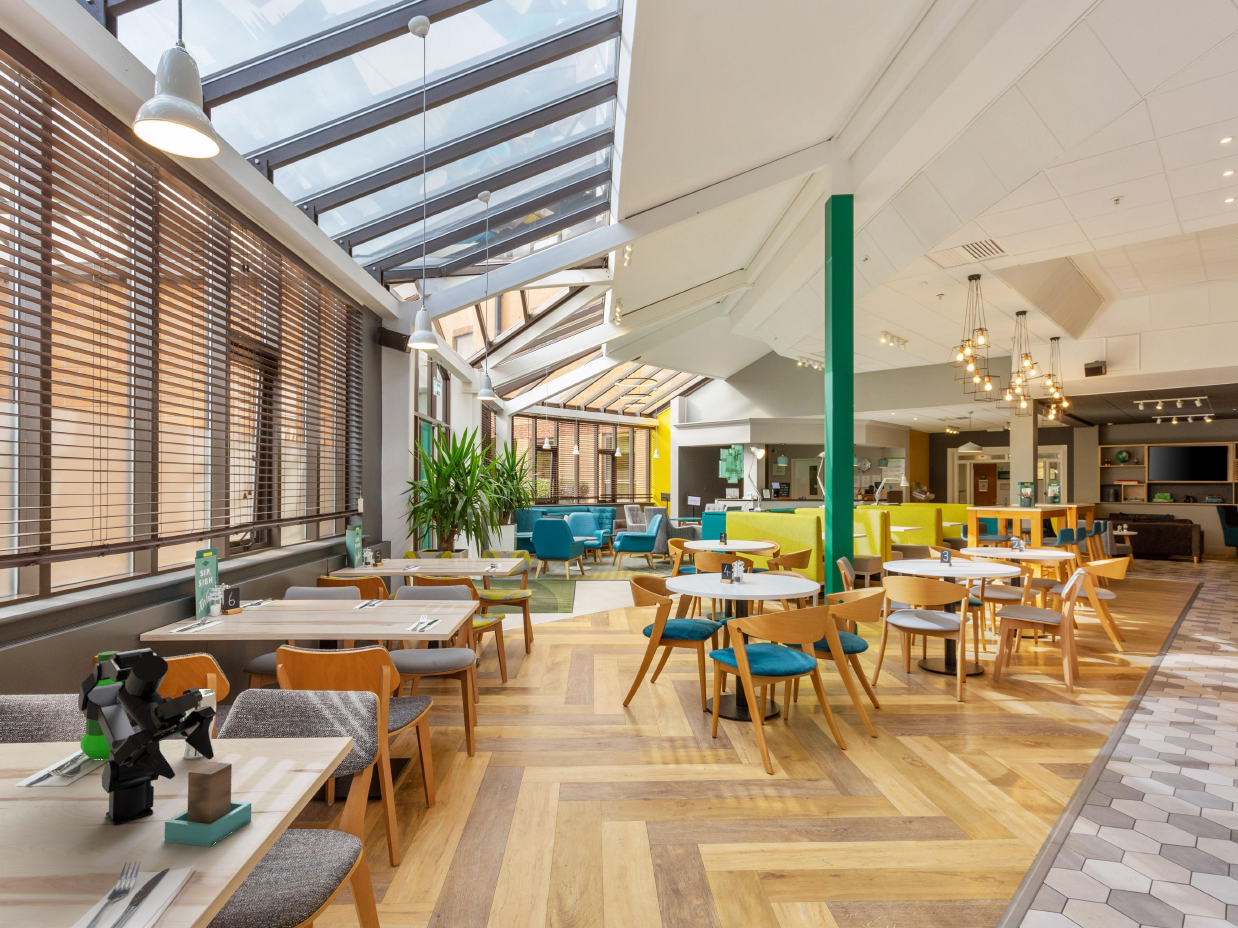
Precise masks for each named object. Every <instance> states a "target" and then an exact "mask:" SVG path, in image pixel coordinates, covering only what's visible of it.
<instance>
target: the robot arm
mask: <svg viewBox="0 0 1238 928" xmlns="http://www.w3.org/2000/svg"><path fill="white" fill-rule="evenodd" d="M168 668H169V663H168V661H166V660H165V658H164V657H161V656H159V655H157V653H156V652H154V651H153V650H152V648H151V647H145V648H140V649H139V648H138V649H133V650H132V649H131V650H126V651H125V650H124V651H119V652H118V653H114V654H113V655H112V656H111V657H110V660H108V661H101V662H96V663H94V665H93V669H92V673H91V674H90V675H88V677H86V679H85V680H83V682H82V683H81V684H80V688H79V694H78V698H77V700H78V702H77V703H78V704H77V705H78V710H79V711H80V712H82V715H83V716H84V717H85V719H89V720H94V721H98V722H99V725H100V727H101V729H102V731H103V734H104V736H105V738H106V741H107V743H108V745H109V747H110V754H109V759H108V761H107V762H106V764H105V766H104V770H103V772H102V773H101V774H102V775H101V787H102V789H103V790H104V791H105V792H106V793H107V794H108V811H107V812H105V817H106V818H108V820H109V821H110V822H111V824H113V825H114V826H116V825H120V824H124V823H126V822H129V821H133V820H135V819H140V818H142V817H146V816H149V815H152V814H154V810H153V807H154V796H155V795H154V792H155V787H154V786H153V785H152V782H154V781H158V780H159V777H160V776H161V777H164V778H166V779H168V780H172V779H173V778H174V777H175V776H176V774H175V772H174V769H173V768H172V766H171V765H170V764H169V762H168V761H167V759H166V758H165V756H164V754H163V753H162V751H161V749H160V748H161V747H160V742H162V741H164V740H166V739H168V738H171V737H174V736H176V735H179V734H180V735H181V736H183V737H185V739H184V741H185V743H186V742H187V743H188V744H189V745H191V746H192V747H193V748H194V749H196V750H197V751H198V752H199V753H200V754H202V755H203V756H204V758H206V759H208V760H209V761H210V760H212V759H213V758H214V757H215V755H214V749H213V750H212V748H213V745H211V743H212V740H211V741H210V737H209V725H210V723H211V722H212V721H213V717H214V716H215V717H216V715H217V711H216V712H215V711H214V710H213V708H212V707H211V706H204V707H201V708H199V709H196V710H194V711H192V712H191V713H190V714H189V715H188V716H187V717H186V718H185V720H184V721H183V717H184V716H185V715H186V711H188V710H190V709H192V708H197V707H199V703H198V702H200V701H202V699H203V697H202V694H201V692H200V691H199V690H200V689H198V687H197V686H193V687H190V688H188V689H186V690H183V691H182V695H180V696H177V697H174V698H173V697H172V696H171V697H170V696H165V697H164V696H162V694H161V693H160V692H159V689H160V687H161V685H162V683H163V681H164V679H165V677H166V675H167V672H168ZM106 679H110V680H112V681H114V682H119V683H114V684H108V685H102V686H97V685H98V683H99V680H100V681H101V680H106ZM120 681H122V682H123V684H122V683H121V682H120ZM96 686H97V687H96ZM124 709H126V710H127V715H126V713H125V711H124ZM128 714H129V716H130V717H131V718H132V720H131V721H130V719H129V717H128ZM181 720H182V721H181ZM134 727H139V729H140V731H139V732H136V731H135V728H134ZM186 737H187V738H186Z"/></svg>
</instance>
